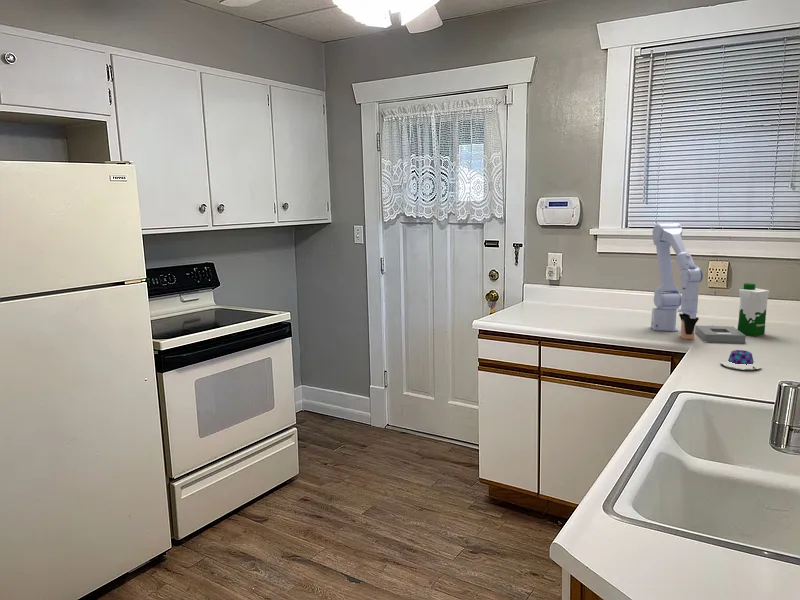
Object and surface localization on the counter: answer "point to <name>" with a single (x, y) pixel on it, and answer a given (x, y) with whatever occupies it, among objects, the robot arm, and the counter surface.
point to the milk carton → (752, 310)
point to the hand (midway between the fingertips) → (687, 333)
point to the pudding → (741, 357)
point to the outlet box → (720, 334)
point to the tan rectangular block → (683, 333)
